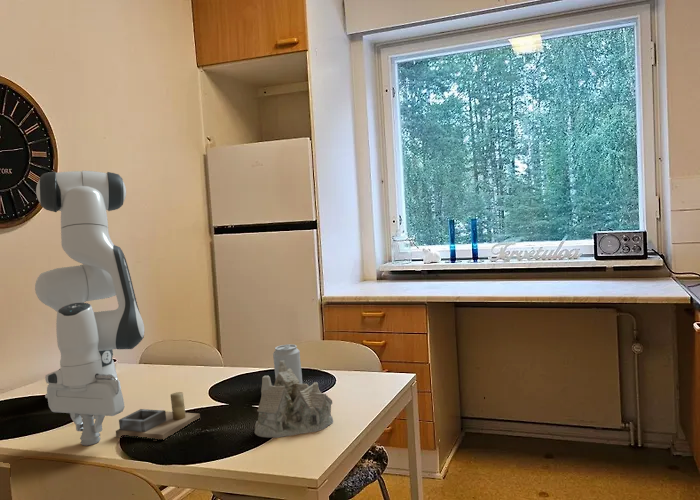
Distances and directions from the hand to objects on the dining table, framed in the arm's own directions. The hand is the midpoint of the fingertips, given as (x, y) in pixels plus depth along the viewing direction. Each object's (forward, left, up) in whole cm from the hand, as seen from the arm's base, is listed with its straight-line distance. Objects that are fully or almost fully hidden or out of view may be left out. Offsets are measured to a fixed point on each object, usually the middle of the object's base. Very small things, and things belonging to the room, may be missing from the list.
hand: (89, 431), depth 146 cm
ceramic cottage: (+45, +18, -3) cm, 48 cm away
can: (+29, +45, -3) cm, 54 cm away
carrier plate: (+11, +11, -3) cm, 16 cm away
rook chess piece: (0, 0, -3) cm, 3 cm away
